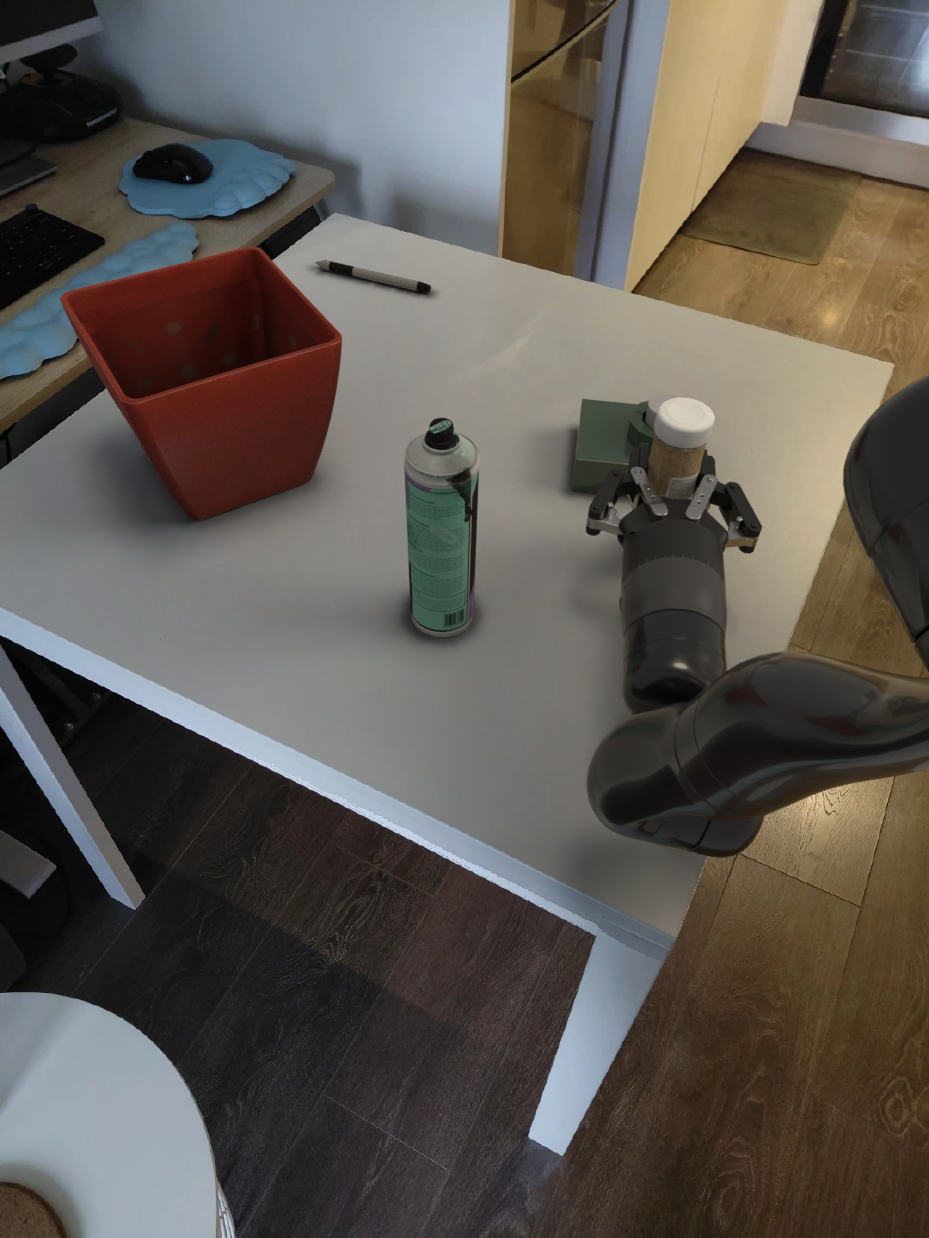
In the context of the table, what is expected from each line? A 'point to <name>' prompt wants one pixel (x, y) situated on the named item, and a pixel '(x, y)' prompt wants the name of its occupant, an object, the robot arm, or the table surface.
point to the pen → (375, 276)
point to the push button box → (607, 440)
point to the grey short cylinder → (655, 408)
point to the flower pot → (215, 374)
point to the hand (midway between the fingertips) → (670, 454)
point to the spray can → (441, 528)
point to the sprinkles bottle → (679, 446)
